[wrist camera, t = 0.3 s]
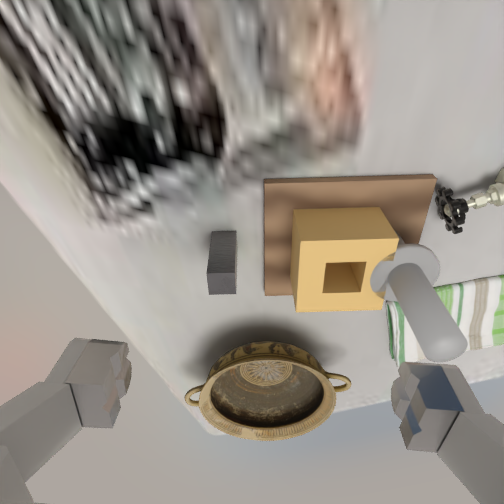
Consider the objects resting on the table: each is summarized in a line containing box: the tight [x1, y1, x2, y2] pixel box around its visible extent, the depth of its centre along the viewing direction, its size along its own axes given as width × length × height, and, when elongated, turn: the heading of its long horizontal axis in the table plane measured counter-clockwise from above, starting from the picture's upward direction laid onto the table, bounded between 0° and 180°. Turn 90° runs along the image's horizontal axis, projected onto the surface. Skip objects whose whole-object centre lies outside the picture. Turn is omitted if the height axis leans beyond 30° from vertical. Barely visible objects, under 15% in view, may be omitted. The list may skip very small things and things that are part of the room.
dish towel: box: [386, 275, 504, 367], centre depth 65 cm, size 17×23×4 cm
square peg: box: [207, 231, 237, 295], centre depth 52 cm, size 4×4×10 cm
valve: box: [435, 168, 504, 234], centre depth 49 cm, size 7×7×12 cm
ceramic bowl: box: [185, 341, 351, 441], centre depth 68 cm, size 30×24×10 cm
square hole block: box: [290, 207, 468, 362], centre depth 47 cm, size 12×18×20 cm, turn 91°
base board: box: [264, 174, 437, 296], centre depth 55 cm, size 20×23×2 cm
